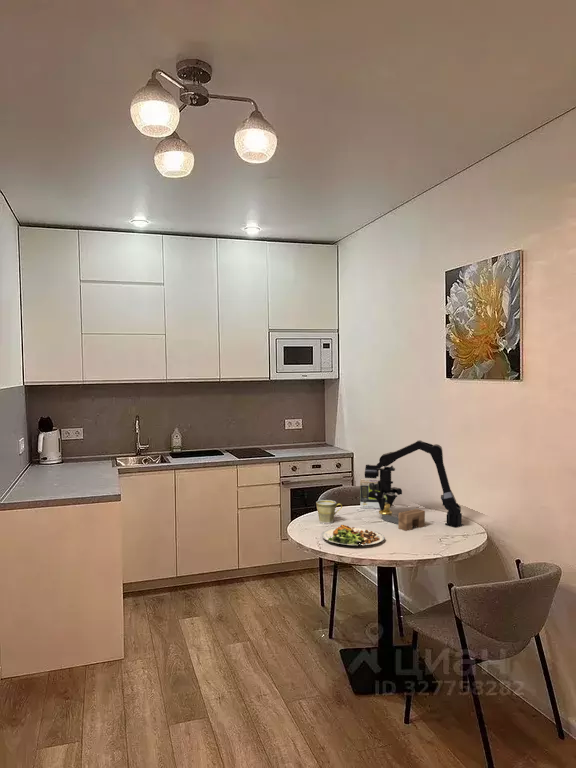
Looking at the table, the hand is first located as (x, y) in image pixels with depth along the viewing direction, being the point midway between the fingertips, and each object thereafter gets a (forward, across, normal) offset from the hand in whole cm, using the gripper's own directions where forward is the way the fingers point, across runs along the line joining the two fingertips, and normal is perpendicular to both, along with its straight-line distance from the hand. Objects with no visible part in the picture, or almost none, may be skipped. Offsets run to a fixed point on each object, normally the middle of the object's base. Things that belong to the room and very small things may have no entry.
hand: (385, 509), depth 287 cm
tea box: (+5, -15, -23) cm, 28 cm away
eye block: (+5, 0, +17) cm, 18 cm away
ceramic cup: (+5, +26, -13) cm, 30 cm away
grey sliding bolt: (+5, 0, +6) cm, 8 cm away
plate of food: (+6, +36, +15) cm, 39 cm away
